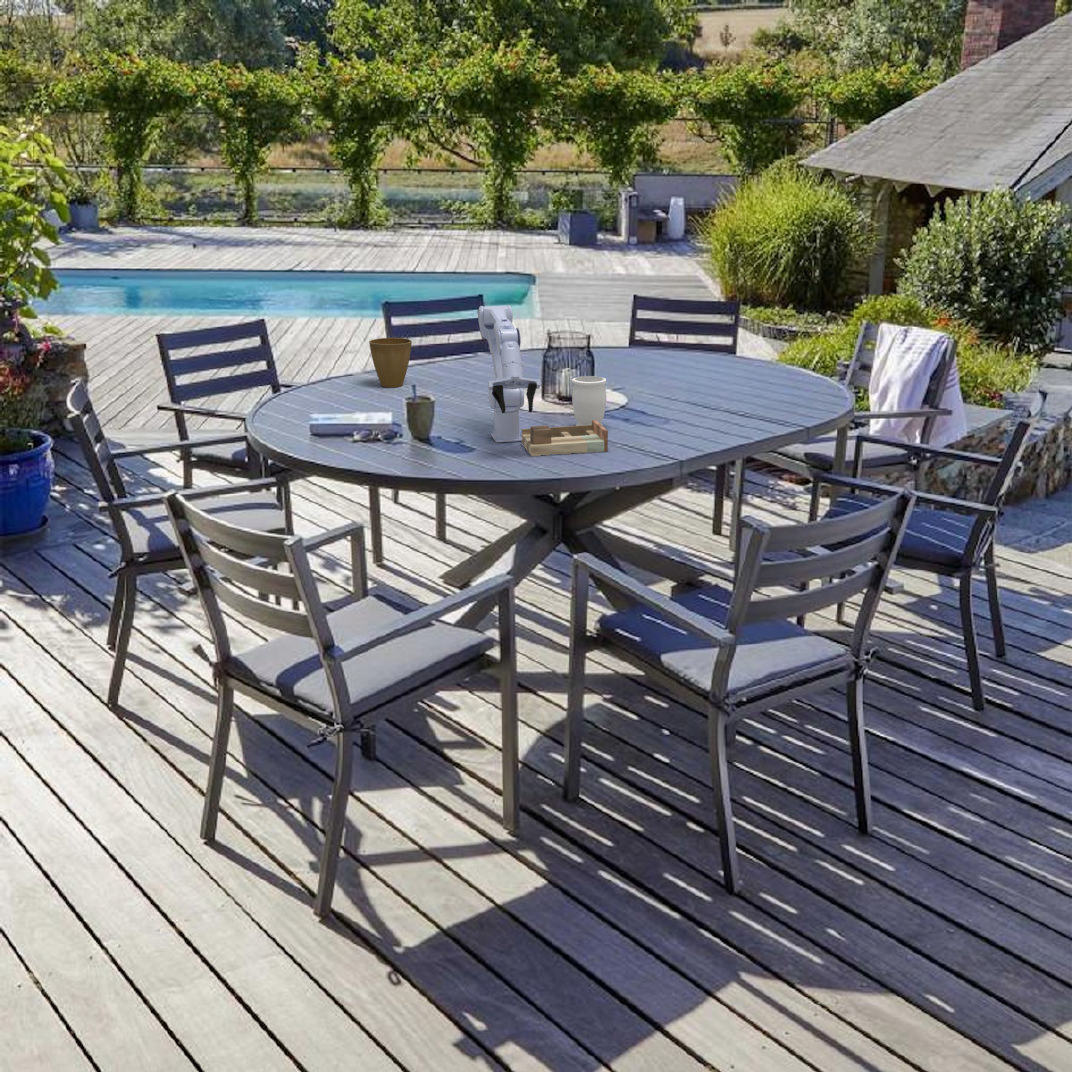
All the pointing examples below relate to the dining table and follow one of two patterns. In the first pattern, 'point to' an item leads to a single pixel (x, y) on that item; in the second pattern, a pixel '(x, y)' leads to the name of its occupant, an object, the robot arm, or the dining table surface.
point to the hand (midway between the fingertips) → (517, 411)
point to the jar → (589, 399)
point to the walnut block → (540, 434)
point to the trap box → (570, 440)
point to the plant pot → (391, 359)
